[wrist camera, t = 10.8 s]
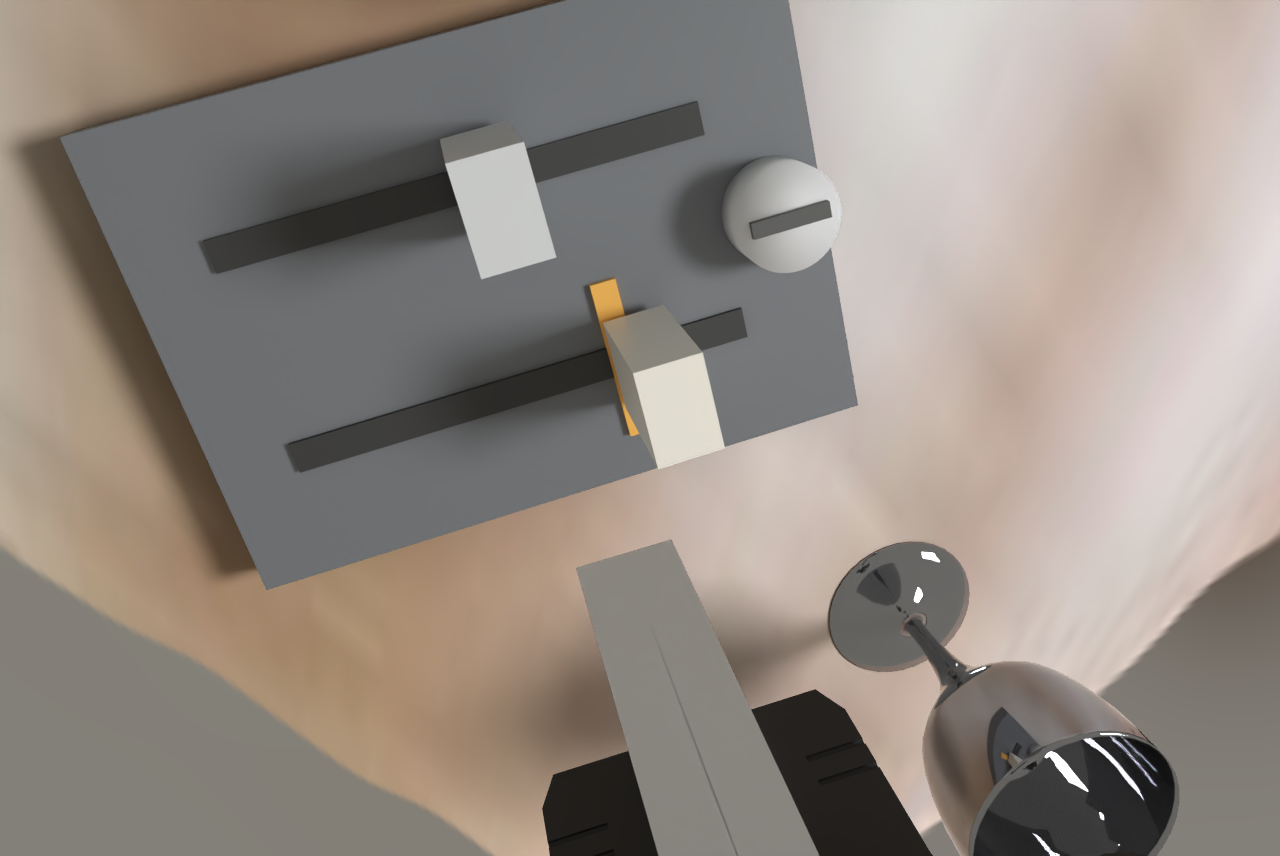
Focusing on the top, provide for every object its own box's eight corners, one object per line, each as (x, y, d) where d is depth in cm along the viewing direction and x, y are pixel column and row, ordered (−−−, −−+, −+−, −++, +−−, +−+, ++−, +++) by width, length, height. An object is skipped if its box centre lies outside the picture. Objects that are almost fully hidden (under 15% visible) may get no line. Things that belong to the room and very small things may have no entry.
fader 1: (439, 139, 37) (445, 163, 31) (506, 120, 37) (523, 141, 32) (470, 239, 38) (481, 279, 33) (535, 220, 39) (556, 257, 33)
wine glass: (906, 502, 49) (1097, 696, 36) (1008, 592, 52) (1219, 802, 39) (787, 624, 50) (928, 857, 37) (893, 705, 54) (1060, 947, 40)
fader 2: (602, 322, 40) (632, 373, 35) (663, 304, 41) (702, 352, 35) (625, 407, 42) (658, 469, 36) (684, 390, 42) (725, 448, 37)
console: (76, 130, 37) (37, 146, 33) (761, -55, 39) (800, -61, 35) (272, 565, 44) (259, 620, 40) (840, 389, 46) (880, 425, 43)
